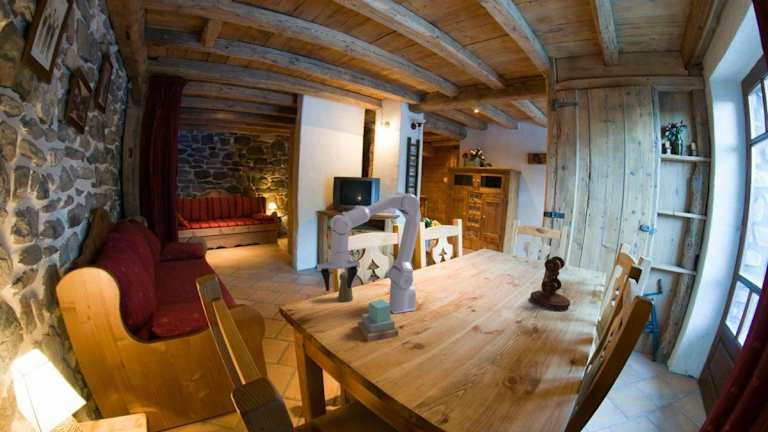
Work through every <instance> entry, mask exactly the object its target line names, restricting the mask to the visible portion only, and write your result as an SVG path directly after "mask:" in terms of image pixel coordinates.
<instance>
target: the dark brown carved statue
mask: <svg viewBox="0 0 768 432" xmlns="http://www.w3.org/2000/svg"><path fill="white" fill-rule="evenodd" d="M565 265H566V263H565V261H564V259H563V258H562V257H561V256H557V255H556V256H553V257H551V258H547V259H545V262H544V265H543V266H544V267H545V269H544V270H545V271H544V275H543V278H542V280H541V288H540V289H541V290H540V289H538V290H535V291H532V292H531V293H530V298H531V300H532V303H538V304H540V305H544V306H547V307H551V308H556V310H557V311H558V312H559V311H560V310H561V309H562V308H563V309H564V308H568V307H569V308H570V306H571V301H570V299H569V298H567V297H566V296H564V295H562V294H560V293H557V291H559V290H561V288H562V286H563V285H562V281H561V280H560V279H559V278H558V277H559V276H560V271H561V270H562V269H563V268H564V266H565Z"/></svg>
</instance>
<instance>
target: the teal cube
mask: <svg viewBox="0 0 768 432" xmlns="http://www.w3.org/2000/svg"><path fill="white" fill-rule="evenodd" d="M368 314H369V318H370V319H372V320H373V321H374V322H376V323H381V322H384V321H388V320H390V318H391V305H390V304H388V302H387V301H385V300H384V299H378V300H374V301H370V302H368Z"/></svg>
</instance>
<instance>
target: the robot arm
mask: <svg viewBox="0 0 768 432" xmlns="http://www.w3.org/2000/svg"><path fill="white" fill-rule="evenodd" d="M420 205H421V201H420V200H419V199H418V197H417V196H416V195H415V194H412V193H404V192H401V191H399V192H396V193H393V194H390V195H388V196H387V197H384V198H383V199H381V200H379V201H377V202H374V203H372V204H371V205H369V206H367V207H366V206H363V205H356V206H354V208H353V209H351V210H349V211H343V212H342V215H341V214H336V215H335V216H333V217H332V218H331V219H330V222H329V227H330V229H331V237H330V240H331V241H330V261H327V262H323V263H317V265H316V269H317V271H318V272H320V274H321V276H322V278H323V282H324V287H325V290H326V292H329V291H330V279H331V277H330V276H331V273H330V270H341V269H342V270H343V269H346V272H347V276H348V277H347V287H348V288H349V289H351V285H352V284H353V281H354V279H355V277H356V275H357V274H358V272H359V269H360V267H361V262H360V261H359V260H348V257H349V254H348V253H349V233H350V232H351V230H352V229H353V228H355V227H358V226H360V225H362V224H364V223H367V222H368V221H369V220H370V218H371V217H372V216H374V215H376V214H379V213H382V212H384V211H387V210H388V209H395V210H398V211H399V212H400V213H401V214H402V216H403V218H404V219H405V220H404V221H405V222H404V226H403V231H402V235H401V239H400V244H399V247H398V252H397V256H396V257H397V258H396V259H395V260H394V261H393V262H392V265H391V267H390V268H389V270H388V272H387V273H388V274H387V276H388V279H389V280H390V285H389V286H390V288H389V301H388V302H389V303H388V302H387V303H388V304H390V305H391V310H390V312H392V313H393V314H400V313H401V314H402V313H407V312H413V311H416V309H417V308H416V296H417V292H416V288H415V287H414V284H413V282H414V276H413V274H414V273H413V272H414V269H413V265H412V260H413V254H414V251H415V245H416V241H417V238H418V233H419V229H420V224H421V220H422V214H421V210H420V209H421V208H420Z"/></svg>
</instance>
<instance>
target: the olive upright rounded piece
mask: <svg viewBox="0 0 768 432" xmlns="http://www.w3.org/2000/svg"><path fill="white" fill-rule="evenodd" d="M347 277H348V276H347V271H343V272H341V273H340V274H339V280H340V284H339V289H338V290H339V291H338V295H337V301H339V302H341V303H350V302H352V301H354V298H353V297H354V295H353V287H352V285H351V289H349V288H348V287H347Z"/></svg>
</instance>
